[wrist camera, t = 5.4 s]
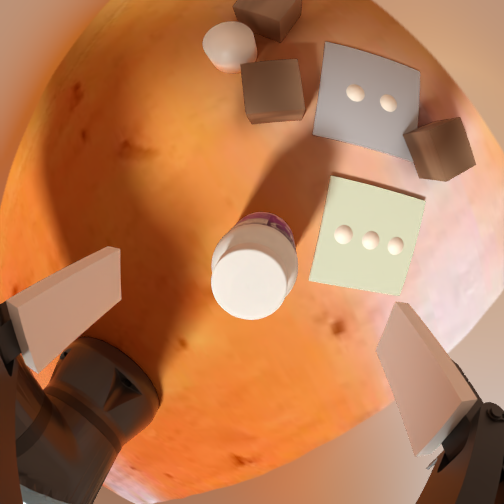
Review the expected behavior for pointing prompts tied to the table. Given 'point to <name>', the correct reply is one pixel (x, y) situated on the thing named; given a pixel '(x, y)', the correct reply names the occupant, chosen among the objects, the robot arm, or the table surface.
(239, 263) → the pill bottle
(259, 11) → the cube
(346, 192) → the pad three
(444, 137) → the cube
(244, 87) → the cube
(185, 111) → the table surface
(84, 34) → the table surface
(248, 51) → the white cap
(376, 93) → the pad two
